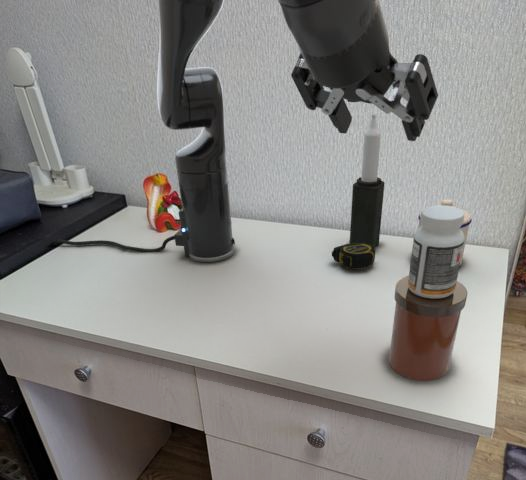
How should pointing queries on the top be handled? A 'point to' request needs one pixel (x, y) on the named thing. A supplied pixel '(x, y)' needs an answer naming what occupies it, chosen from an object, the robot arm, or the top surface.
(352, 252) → the tape measure
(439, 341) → the jar
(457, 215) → the pill bottle
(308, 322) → the top surface
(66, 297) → the top surface
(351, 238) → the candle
